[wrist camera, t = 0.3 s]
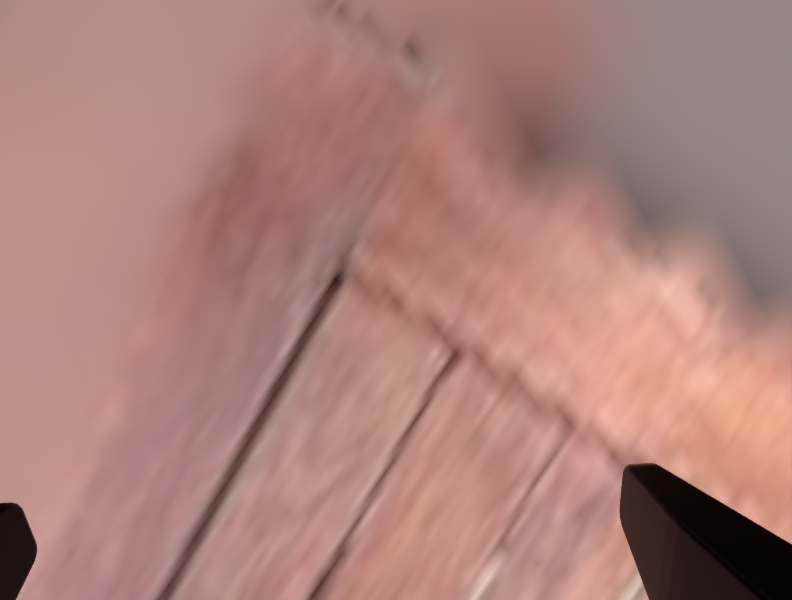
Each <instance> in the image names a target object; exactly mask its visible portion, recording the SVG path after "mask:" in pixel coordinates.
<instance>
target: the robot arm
mask: <svg viewBox="0 0 792 600" xmlns="http://www.w3.org/2000/svg"><path fill="white" fill-rule="evenodd" d="M620 520H621V524H622V527H623V530H624V533H625V536H626V538H627V541H628V544H629V546H630V549H631V552H632V555H633V557H634V560H635V563H636V565H637V568H638V571H639V574H640V576H641V579H642V582H643V584H644V587H645V590H646V592H647V595H648V598H649V600H792V544H790V543H789V542H787V541H785V540H784V539H782V538H780V537H778V536H777V535H775V534H773V533H772V532H770V531H768V530H767V529H765V528H763V527H762V526H760V525H758V524H757V523H755V522H753V521H752V520H750V519H748V518H747V517H745V516H743V515H741V514H740V513H738V512H736V511H735V510H733V509H731V508H730V507H728V506H726V505H725V504H723V503H721V502H720V501H718V500H716V499H715V498H713V497H711V496H710V495H708V494H706V493H704V492H703V491H701V490H699V489H698V488H696V487H694V486H693V485H691V484H689V483H688V482H686V481H684V480H683V479H681V478H679V477H678V476H676V475H674V474H673V473H671V472H669V471H667V470H666V469H664V468H662V467H661V466H659V465H657V464H654V463H643V464H630V465H628V466H626V467H625V469H624V471H623V477H622V487H621V498H620ZM36 554H37V544H36V541H35V539H34V536H33V534H32V531H31V529H30V526H29V524H28V521H27V519H26V516H25V514H24V511H23V510H22V508H21V507H20V506H19V505H18V504H15V503H0V600H16V598H17V596H18V594H19V592H20V590H21V588H22V586H23V584H24V582H25V580H26V578H27V576H28V574H29V572H30V570H31V568H32V566H33V564H34V561H35V558H36Z"/></svg>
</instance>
